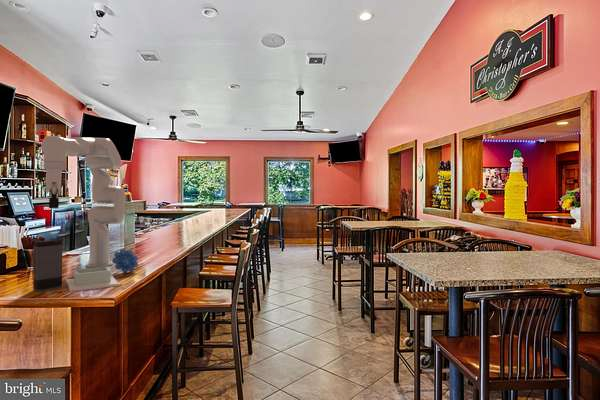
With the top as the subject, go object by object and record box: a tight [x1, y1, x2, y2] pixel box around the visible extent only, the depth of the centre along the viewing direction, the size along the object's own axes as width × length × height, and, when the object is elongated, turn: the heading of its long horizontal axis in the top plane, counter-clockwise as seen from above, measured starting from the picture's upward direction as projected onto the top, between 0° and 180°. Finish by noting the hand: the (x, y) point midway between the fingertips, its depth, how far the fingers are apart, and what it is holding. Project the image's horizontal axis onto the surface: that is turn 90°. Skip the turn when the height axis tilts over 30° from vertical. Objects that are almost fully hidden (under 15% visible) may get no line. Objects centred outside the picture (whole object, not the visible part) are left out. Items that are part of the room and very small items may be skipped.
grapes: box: [111, 248, 139, 274], centre depth 184 cm, size 12×7×12 cm, turn 117°
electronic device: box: [32, 238, 63, 293], centre depth 153 cm, size 9×6×20 cm, turn 145°
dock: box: [65, 266, 120, 292], centre depth 163 cm, size 18×18×6 cm
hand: (53, 207), depth 155 cm, fingers open, 9 cm apart
